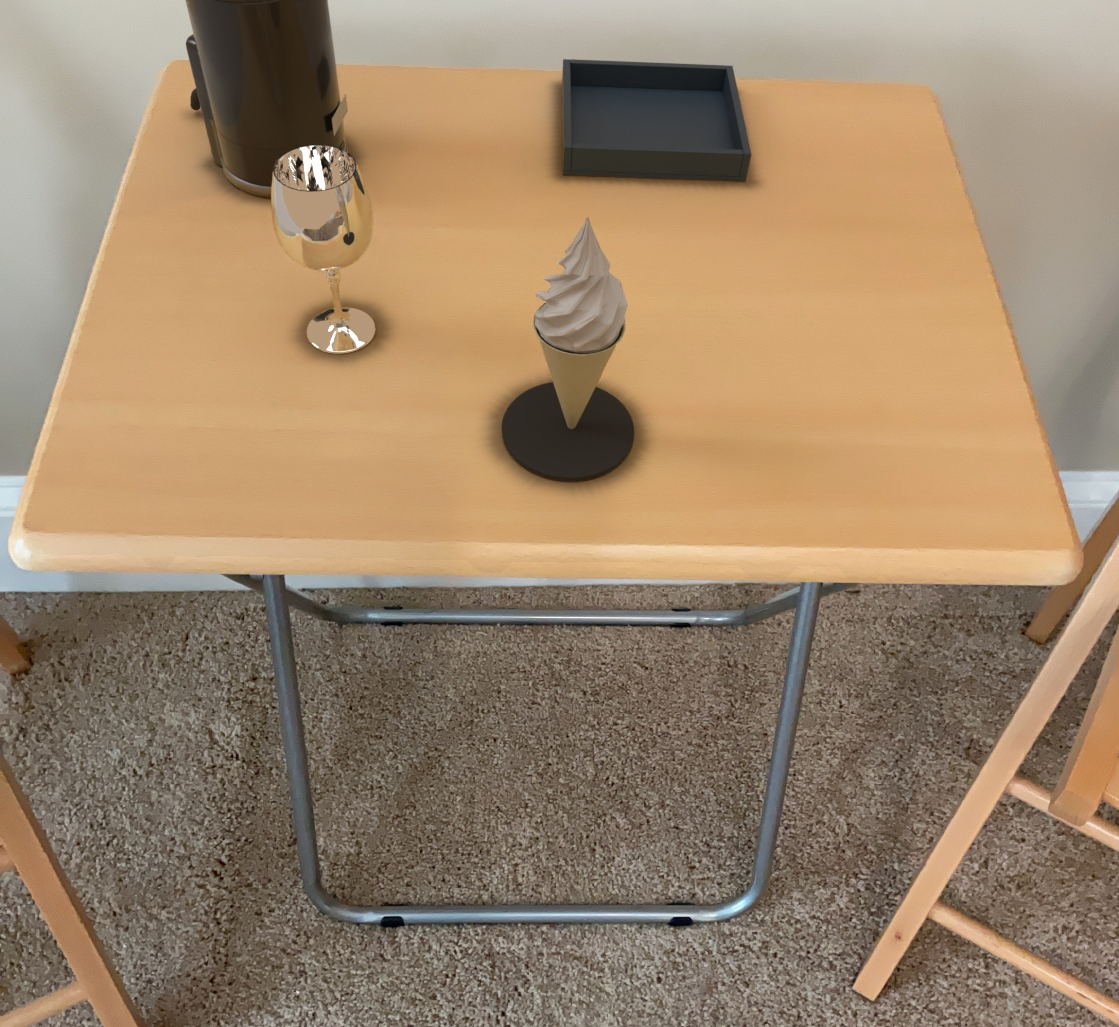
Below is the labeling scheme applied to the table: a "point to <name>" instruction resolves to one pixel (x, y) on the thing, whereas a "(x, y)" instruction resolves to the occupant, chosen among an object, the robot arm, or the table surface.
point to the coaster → (567, 435)
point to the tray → (652, 121)
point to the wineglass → (325, 232)
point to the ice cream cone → (580, 322)
